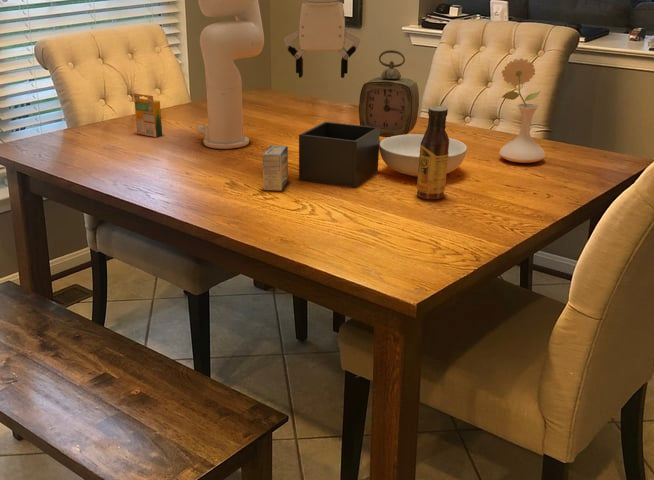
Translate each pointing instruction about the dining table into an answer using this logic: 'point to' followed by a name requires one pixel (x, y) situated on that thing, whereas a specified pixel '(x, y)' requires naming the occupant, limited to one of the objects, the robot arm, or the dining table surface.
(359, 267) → the dining table surface
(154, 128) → the crayon box
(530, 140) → the flower in vase
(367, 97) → the tabletop clock
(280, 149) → the medicine box
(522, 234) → the dining table surface
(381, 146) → the serving bowl
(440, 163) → the sauce bottle
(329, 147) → the open-top storage bin
